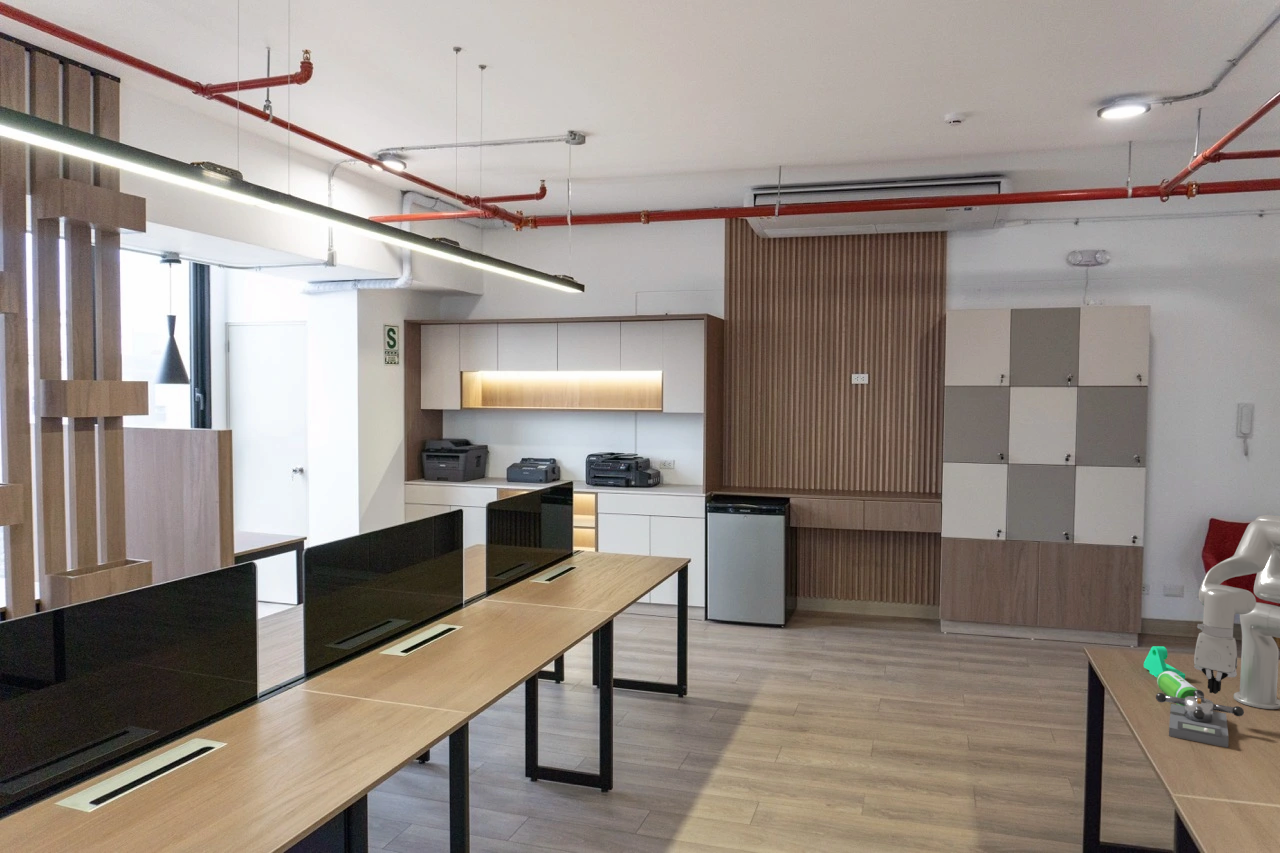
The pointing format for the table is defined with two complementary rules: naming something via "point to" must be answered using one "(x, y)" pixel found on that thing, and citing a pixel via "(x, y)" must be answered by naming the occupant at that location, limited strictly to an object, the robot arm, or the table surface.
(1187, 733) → the stand
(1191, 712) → the capstan
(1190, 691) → the speaker
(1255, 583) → the robot arm
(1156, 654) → the camera mount
